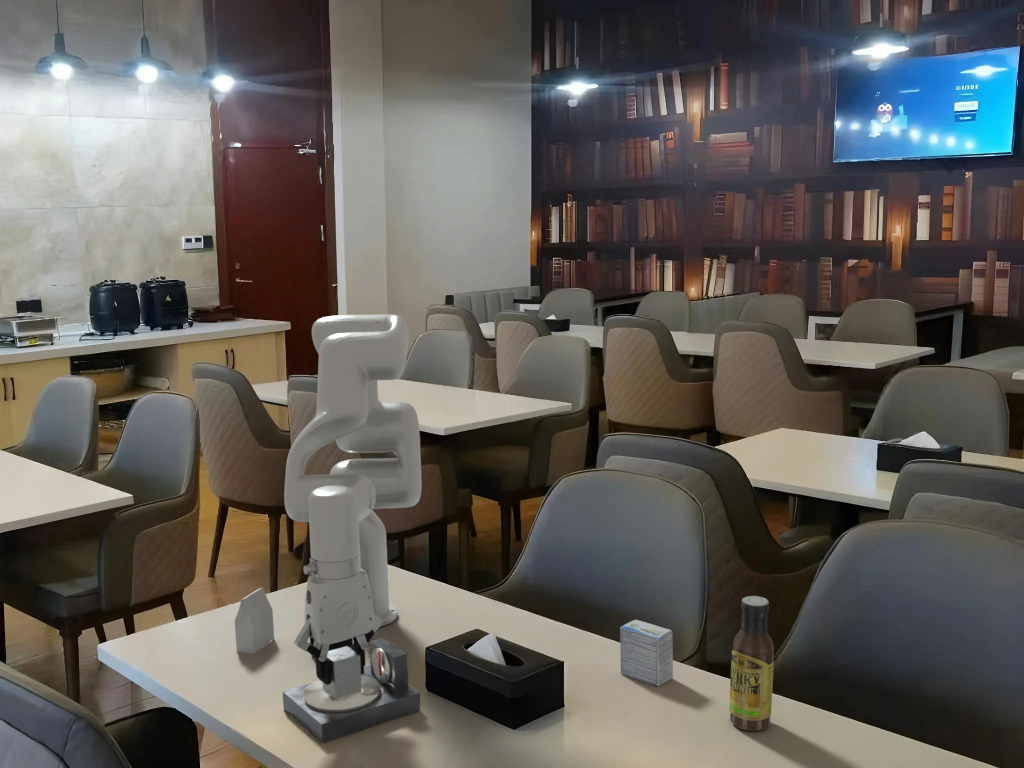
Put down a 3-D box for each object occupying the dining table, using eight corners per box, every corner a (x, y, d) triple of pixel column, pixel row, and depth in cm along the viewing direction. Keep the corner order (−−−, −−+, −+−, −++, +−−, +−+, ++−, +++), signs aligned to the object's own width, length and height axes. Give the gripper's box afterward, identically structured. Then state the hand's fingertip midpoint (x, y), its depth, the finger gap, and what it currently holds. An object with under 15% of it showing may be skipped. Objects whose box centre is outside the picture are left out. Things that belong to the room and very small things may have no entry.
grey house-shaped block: (274, 639, 198) (271, 588, 196) (254, 653, 191) (251, 600, 190) (257, 637, 199) (253, 586, 197) (236, 651, 192) (233, 598, 191)
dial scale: (283, 709, 170) (280, 657, 168) (377, 680, 179) (375, 631, 178) (322, 743, 158) (319, 688, 157) (420, 710, 168) (418, 658, 167)
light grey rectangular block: (323, 688, 168) (321, 652, 167) (348, 681, 171) (347, 646, 170) (335, 699, 164) (333, 662, 163) (361, 691, 167) (360, 655, 166)
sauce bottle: (721, 723, 162) (722, 599, 159) (744, 710, 166) (747, 588, 163) (756, 738, 157) (759, 610, 154) (780, 724, 162) (783, 599, 158)
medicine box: (673, 679, 178) (673, 630, 176) (658, 688, 174) (658, 638, 173) (635, 666, 183) (635, 618, 182) (619, 674, 180) (619, 626, 178)
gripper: (295, 584, 156) (301, 700, 159) (396, 560, 166) (400, 670, 169) (274, 571, 162) (281, 683, 165) (373, 549, 172) (377, 655, 175)
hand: (341, 675), depth 167 cm, fingers open, 5 cm apart
